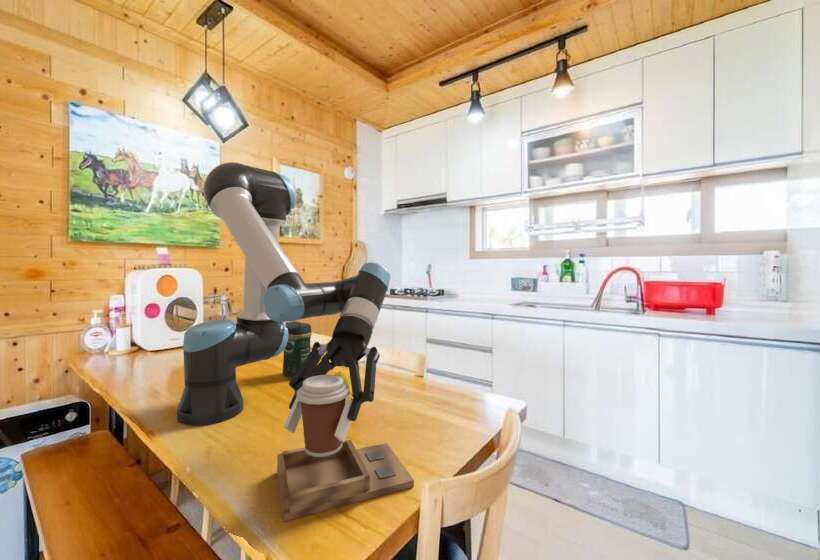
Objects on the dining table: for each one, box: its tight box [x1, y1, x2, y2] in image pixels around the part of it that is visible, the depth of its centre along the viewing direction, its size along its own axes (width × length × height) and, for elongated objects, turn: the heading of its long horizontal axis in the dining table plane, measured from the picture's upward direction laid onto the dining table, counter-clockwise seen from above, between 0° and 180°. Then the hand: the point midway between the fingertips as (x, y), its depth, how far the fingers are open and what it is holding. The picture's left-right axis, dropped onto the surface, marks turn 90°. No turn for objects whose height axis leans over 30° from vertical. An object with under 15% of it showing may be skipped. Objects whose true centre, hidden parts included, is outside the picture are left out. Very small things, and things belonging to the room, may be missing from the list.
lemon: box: [334, 370, 351, 389], centre depth 103 cm, size 6×6×8 cm
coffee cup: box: [297, 373, 351, 457], centre depth 63 cm, size 9×9×12 cm
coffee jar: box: [282, 321, 313, 379], centre depth 123 cm, size 10×8×19 cm
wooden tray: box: [276, 439, 415, 523], centre depth 65 cm, size 22×14×4 cm, turn 114°
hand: (313, 434), depth 60 cm, fingers closed on coffee cup, 9 cm apart
